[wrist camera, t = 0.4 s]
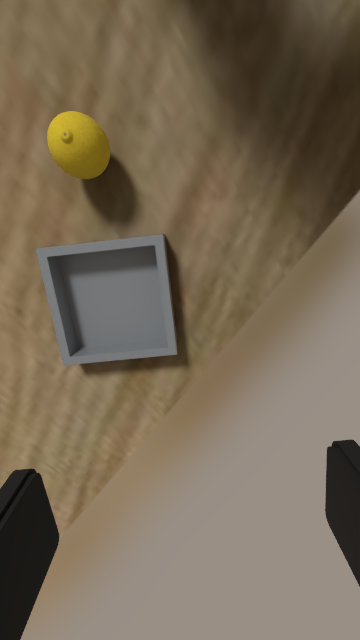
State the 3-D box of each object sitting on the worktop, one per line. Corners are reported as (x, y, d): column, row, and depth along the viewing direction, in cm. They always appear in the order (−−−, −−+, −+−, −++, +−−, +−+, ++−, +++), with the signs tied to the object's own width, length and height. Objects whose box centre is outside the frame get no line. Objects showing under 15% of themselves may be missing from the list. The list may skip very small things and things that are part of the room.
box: (49, 247, 35) (35, 248, 32) (164, 234, 35) (162, 234, 32) (73, 354, 39) (63, 365, 36) (177, 344, 39) (177, 354, 35)
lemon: (127, 159, 33) (110, 136, 25) (93, 195, 34) (67, 184, 26) (91, 116, 32) (61, 79, 24) (57, 155, 33) (18, 131, 25)
